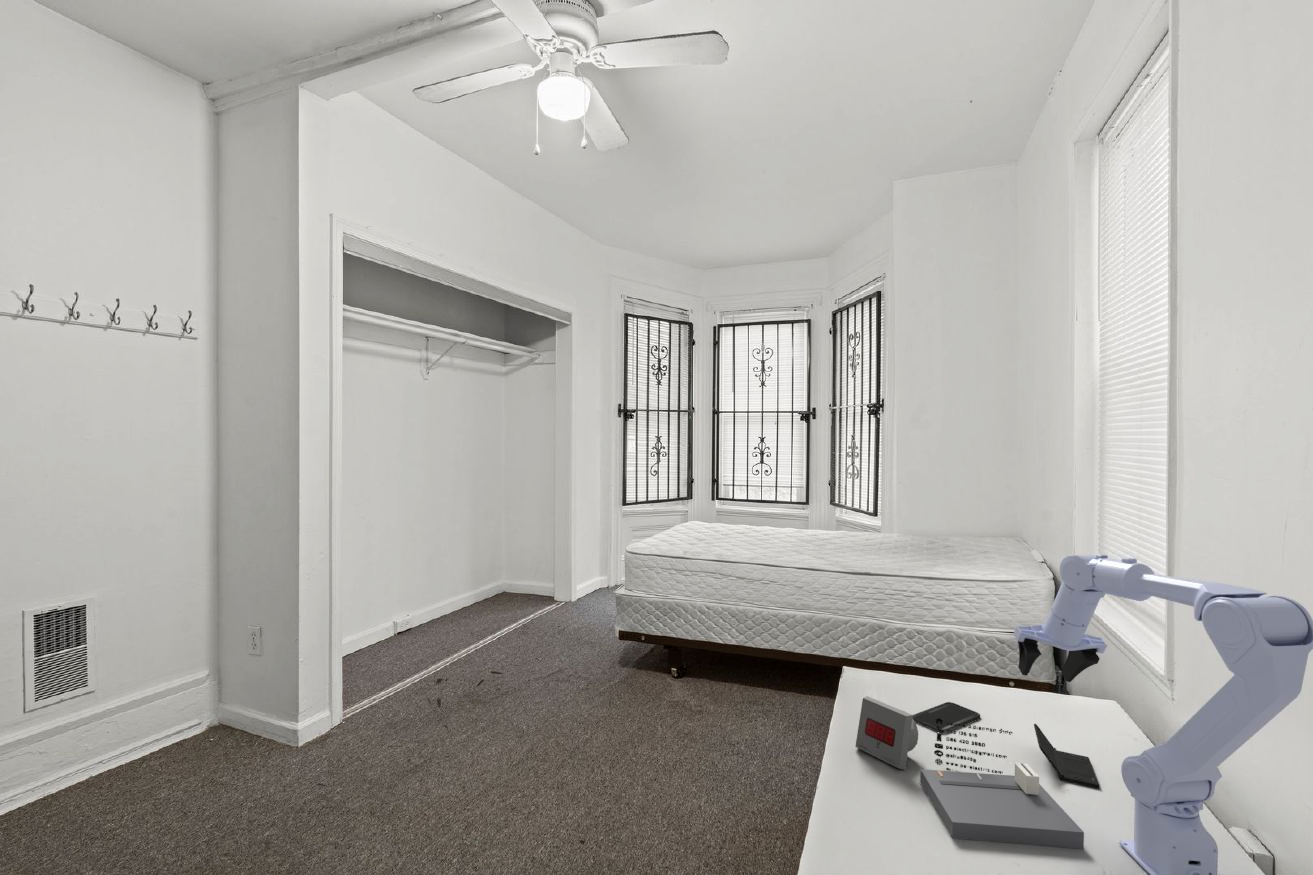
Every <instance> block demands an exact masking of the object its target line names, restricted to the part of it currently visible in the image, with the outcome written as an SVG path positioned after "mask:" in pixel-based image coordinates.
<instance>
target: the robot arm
mask: <svg viewBox="0 0 1313 875" xmlns="http://www.w3.org/2000/svg"><path fill="white" fill-rule="evenodd" d="M1059 574H1060V577H1061V578H1060V579H1061V580H1062V582H1061V584H1060V586H1059V589H1058V592H1057V593H1056V596H1055V599H1054V601H1053V604H1052V606H1051V608H1050V610H1049V613H1048V615H1047V618H1046V620H1045V621H1044V622H1045V623H1044V624H1035V625H1023V626H1022V625H1016V626H1015V629H1014V630H1013V631H1014V632H1013V635H1014V637H1015V639H1016V641H1017V645H1018V654H1019V658H1018V666H1017V667H1018V669H1019V672H1020V673H1021V675H1022V676H1028V675H1029V674H1030V671H1031V670H1032V667H1033V665H1034V663H1035V662H1036V660H1037V659H1038V658H1039V657H1040V656H1041V655H1042V652H1041V651H1040V650H1039V648H1038V647H1039V644H1038V643H1042V644H1046V645H1049V646H1052V647H1055V648H1058V649H1060V650H1065V651H1068V654H1067V657H1066V660H1065V662H1064V664H1063V667H1062V670H1061V675H1062V677H1063V678H1064V679H1065V681H1066V682H1068V683H1071V682H1072V681H1073V680H1074V679H1076V677H1077V676H1079V675H1080V674H1081V673H1082V672H1084V671H1085V670H1087V669H1088V668H1089V667H1091V666H1094V665H1096V664H1097V665H1098V663H1099V661H1100V657H1099V655H1098V654H1104V652H1105V650H1106V648H1107V647H1108V644H1107V643H1106V642H1105V640H1104V639H1103V638H1102V637H1100V636H1094V635H1090V634H1087V633H1086V631H1087V628H1088V626H1089V624H1090V622H1091V620H1092V618H1093V615H1094V614H1095V611H1096V609H1097V607H1098V604H1099V602H1100V600H1101V599H1102V598H1104V597H1105V595H1110V596H1113V597H1119V598H1124V599H1129V600H1133V601H1137V602H1144V601H1147V600H1148V599H1150V598H1151V597H1155V598H1160V599H1162V600H1167V601H1170V602H1173V603H1178V604H1182V605H1185V606H1189V607H1193V616H1194V620H1196V621H1198V622H1201V623H1202V625H1203V627H1204V630H1205V632H1206V634H1207V635H1208V636H1207V637H1208V638H1209V639H1210V640H1211V642H1212V644H1213V646H1214V647H1215V649H1216V651H1217V652H1218V655H1219V656H1220V657H1221V659H1222V661H1223V663H1224V665H1225V666H1226V669H1227V670H1229V671H1230V672H1231V673H1233V676H1232V677H1231V678H1229V680H1228V681H1227V682H1226V683H1225V684H1223V686H1222V687H1221V688H1220V689H1219V690H1218V691H1216V692H1215V694H1214V695H1213V696H1212V697H1211V698H1210V699H1209V700H1207V701H1206V703H1205V704H1204V705H1202V707H1201V708H1199V709H1198V711H1196V712H1195V713H1194V714H1193V715H1192V716H1191V717H1190V718H1189V719H1188V720H1187V721H1186V722H1185V724H1183V725H1182V726H1180V728H1179V729H1178V730H1177V731H1176V732H1175V733H1174V734H1173V735H1172V736H1171V737H1170V738H1169V739H1168V740H1167V741H1166V742H1163V743H1161V744H1157V745H1155V746H1152V747H1150V748H1147V749H1144V750H1143V752H1141V753H1140V754H1139V755H1131V756H1129V755H1128V756H1127V757H1125V758H1124V759H1123V761H1122V763H1121V770H1120V771H1121V772H1120V773H1121V776H1122V780H1123V783H1124V784H1125V788H1126V789H1127V790H1128V792H1129V793H1130V796H1131V797H1132V798H1133V799H1134V814H1133V816H1134V818H1133V840H1126V839H1124V840H1123V839H1120V840H1119V841H1118V843H1119V845H1120V846H1121V847H1122V848H1123V849H1124V850H1125V851H1126V852H1127V853H1128V854H1129V855H1130V856H1131V858H1133V859H1134V860H1135V861H1136V862H1137V863H1138V865H1139V866H1141V867H1142V868H1143V870H1145V872H1147V873H1148V875H1218V867H1219V866H1218V862H1219V860H1218V859H1219V858H1218V857H1219V855H1218V854H1219V849H1218V844H1217V842H1216V840H1215V838H1214V837H1213V836H1212V835H1211V834H1210V833H1209V831H1208V830H1207V829H1206V828H1205V826H1204V824H1203V822H1202V820H1201V816H1200V811H1203V810H1204V802H1207V801H1209V800H1211V799H1212V798H1213V796H1214V794H1215V790H1216V784H1217V782H1218V781H1220V780H1221V778H1222V777H1223V775H1222V774H1221V772H1220V770H1219V768H1218V767H1219V766H1221V765H1222V763H1224V762H1225V761H1226V760H1228V758H1229V757H1230V756H1231V755H1233V754H1234V753H1235V752H1236V751H1237V750H1238V749H1240V748H1241V747H1242V746H1243V745H1244V744H1245V743H1246V742H1248V741H1249V740H1251V738H1253V737H1254V736H1255V734H1257V733H1258V732H1259V731H1260V730H1262V728H1264V726H1266V725H1267V724H1268V723H1269V722H1271V720H1273V719H1274V718H1276V716H1277V715H1278V714H1280V713H1281V712H1282V711H1283V710H1284V709H1285V708H1287V707H1288V706H1289V705H1290V704H1291V703H1293V701H1295V699H1297V698H1298V697H1299V695H1300V694H1301V691H1302V687H1303V682H1304V677H1305V673H1306V668H1307V663H1308V658H1309V655H1310V653H1311V651H1312V650H1313V617H1312V616H1311V614H1310V613H1309V612H1308V610H1307V609H1306V608H1305V606H1303V604H1301V603H1300V602H1298V601H1296V600H1295V599H1293V598H1290V597H1287V596H1282V595H1272V596H1271V595H1270V596H1265V597H1263V596H1264V595H1267V594H1268V592H1266V591H1262V590H1259V589H1254V588H1251V587H1250V588H1248V587H1243V586H1238V585H1231V584H1226V583H1221V582H1214V581H1213V582H1212V581H1207V580H1198V579H1191V578H1184V577H1178V576H1170V575H1162V574H1155V572H1154V571H1153V569H1152V568H1151V567H1150V566H1148V565H1146V564H1145V563H1139V562H1138V559H1137V558H1136V557H1135V558H1133V557H1122V558H1121V559H1117V558H1116V559H1115V558H1109V557H1108V555H1107V554H1083V555H1082V554H1079V555H1078V554H1073V555H1068V556H1065V557H1064V558H1063V559H1062V560H1061V562H1060V564H1059ZM1097 653H1098V654H1097Z"/></svg>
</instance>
